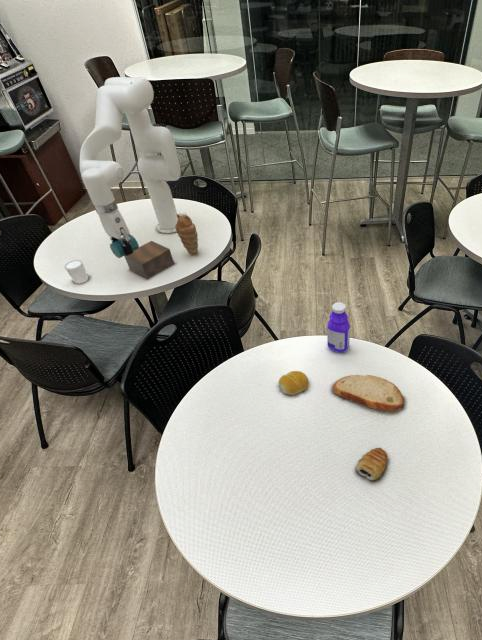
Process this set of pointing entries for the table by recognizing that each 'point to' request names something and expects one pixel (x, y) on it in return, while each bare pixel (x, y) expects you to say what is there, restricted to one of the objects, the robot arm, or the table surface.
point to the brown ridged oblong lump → (187, 233)
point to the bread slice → (370, 392)
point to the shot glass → (77, 271)
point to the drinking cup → (117, 245)
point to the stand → (149, 259)
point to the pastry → (372, 464)
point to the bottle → (338, 329)
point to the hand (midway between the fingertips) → (124, 251)
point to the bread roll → (293, 382)
